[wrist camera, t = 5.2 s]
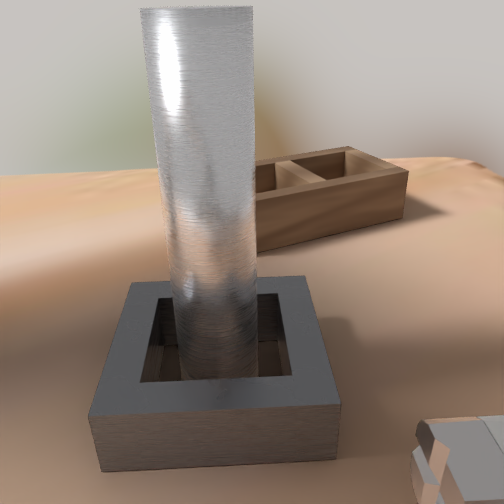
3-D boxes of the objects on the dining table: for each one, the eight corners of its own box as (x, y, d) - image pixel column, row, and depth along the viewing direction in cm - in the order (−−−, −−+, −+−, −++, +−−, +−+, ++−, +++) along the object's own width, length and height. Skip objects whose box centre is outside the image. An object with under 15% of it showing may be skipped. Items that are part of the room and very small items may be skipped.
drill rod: (171, 405, 22) (120, 9, 14) (196, 354, 25) (164, 6, 17) (249, 417, 21) (238, 8, 14) (264, 362, 24) (262, 5, 17)
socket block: (101, 471, 19) (87, 416, 17) (138, 328, 27) (131, 282, 26) (335, 459, 19) (341, 403, 18) (303, 321, 27) (304, 275, 26)
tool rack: (402, 217, 40) (408, 170, 38) (234, 258, 34) (231, 205, 32) (345, 187, 46) (348, 146, 44) (196, 217, 40) (192, 171, 38)
